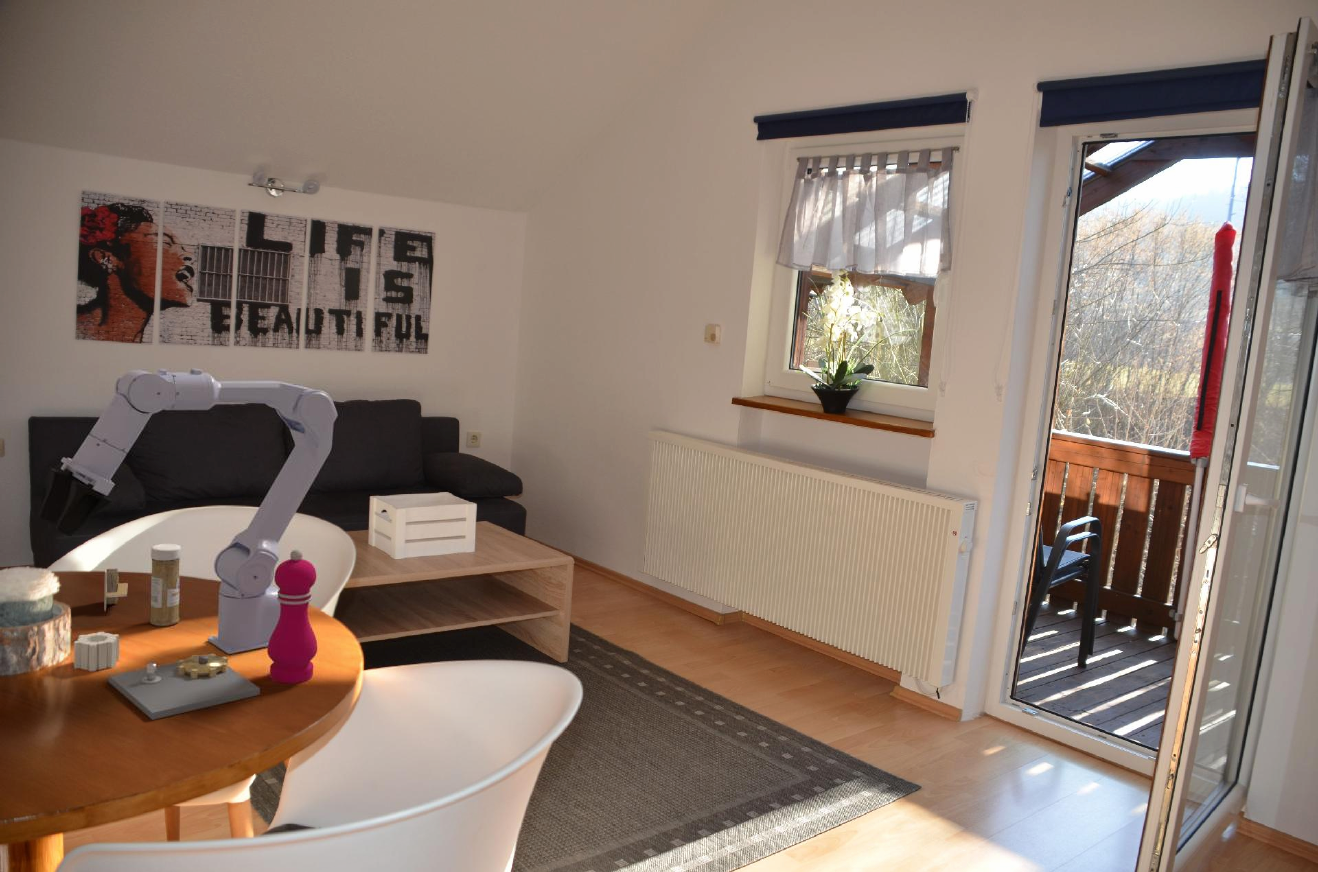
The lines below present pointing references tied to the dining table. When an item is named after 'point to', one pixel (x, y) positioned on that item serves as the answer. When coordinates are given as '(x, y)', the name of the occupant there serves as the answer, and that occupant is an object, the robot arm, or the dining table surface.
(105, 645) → the gear
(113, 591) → the architectural model
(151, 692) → the gear board
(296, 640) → the pepper mill
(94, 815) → the dining table surface
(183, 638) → the dining table surface
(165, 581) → the sprinkles bottle
